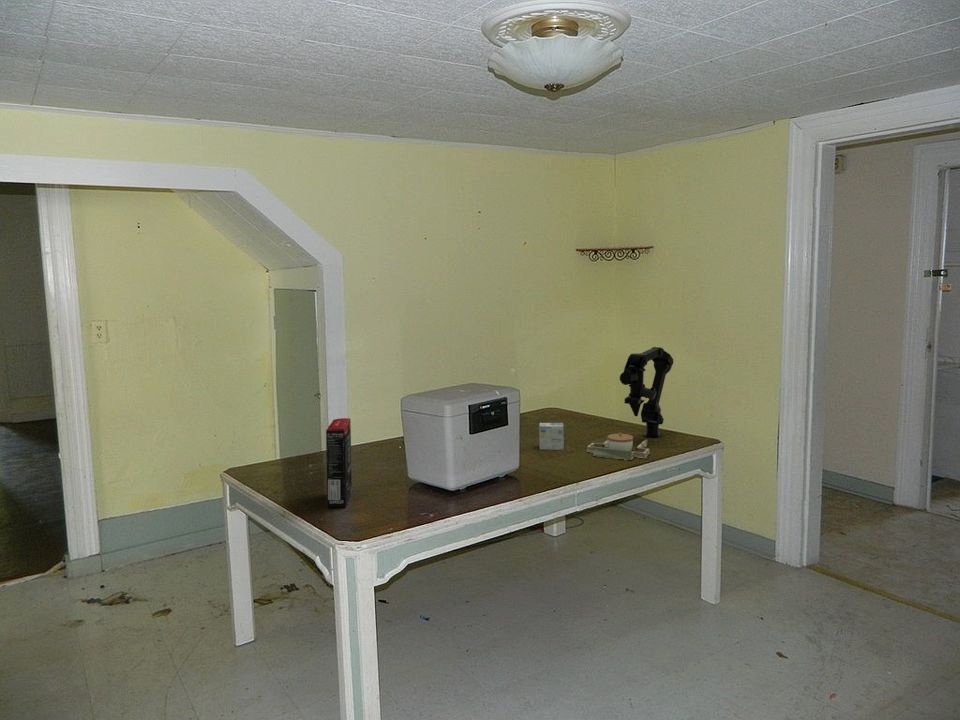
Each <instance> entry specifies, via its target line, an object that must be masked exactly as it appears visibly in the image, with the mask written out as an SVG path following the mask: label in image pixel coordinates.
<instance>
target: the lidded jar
mask: <svg viewBox="0 0 960 720" xmlns="http://www.w3.org/2000/svg"><path fill="white" fill-rule="evenodd" d="M606 439H607V440H608V447H607V448H610V449H619V450H628V451H632V448H633V443H634V436H633V435H631V434H627V433H622V432H618V433H612V434H607V438H606Z"/></svg>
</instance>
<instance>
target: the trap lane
mask: <svg viewBox="0 0 960 720" xmlns="http://www.w3.org/2000/svg"><path fill="white" fill-rule="evenodd" d="M647 446H648V439H644V440H643V441H642V442H641V443H640V444H639V445H637V447H635V451H632V450H631V451H628V450H619V449H610V448H608V439H607V440H605V441H604V442H603V443H600V442H592V443H590V444H588V445H587V446H586V453H587V452H590V453H589V454H592V455H593V456H596V457H595V458H601V457H605V458H604V459H610V458H615V459H614V460H618V459H624V460H623V461H627V460H632V459H633V458H634V457H638V458H637V459H639V458H646V457H647V456H648V455H649V454H650V448H646V447H647ZM606 447H607V448H606ZM650 455H651V454H650ZM650 455H649V456H650ZM593 456H592V457H593ZM649 456H648V457H649ZM648 457H647V458H648ZM647 458H646V459H647ZM634 459H635V458H634ZM632 461H633V460H632Z"/></svg>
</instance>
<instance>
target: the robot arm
mask: <svg viewBox="0 0 960 720" xmlns="http://www.w3.org/2000/svg"><path fill="white" fill-rule="evenodd" d="M649 361H652V362H653V367H654V371H655V372H654V378H653V380H652V384H651V387H650V388H647V387H646V384H645V383H644V374H645V373H644V372H646V368H645V367H646V366H647V365H648V362H649ZM673 365H674V358H673V357H672V355H671V354H670V353H669V352H667V351H666V350H665V349H664V348H663V347H661V346H653V347H651V348H649V349H647V350H645V351H643V352H641V353H639V352H638V353H631V354H630V355H629V356H627V360H626V364H625V365H624V370H623V372H622V373H621V374H620V375H619V381H620V383H621V384H622V385H624V386H628V387H629V393H628V396H626V397H625V398H624V404H628V405H629V406H630V408H631V411H632V412H633V415H634V417H638V416H639V412H640V418H641V419H640V420H641V423H644V424H645V434H643V437H647V438H659V437H660V436H661V433H659V430H660V427H659V425H663V423H664V419H665V418H664V417H663V415H662V414H661V411H662V409H661V406H660V400H661V396H662V391H663V388H664V384H665V380H666V375H667V374H668V373H669V372H670V371H671V370H672V367H673ZM642 398H645V399H648V400H647V402H645V401H646V400H645V399H642ZM641 405H642V408H641ZM640 409H641V411H640Z"/></svg>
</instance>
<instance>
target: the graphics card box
mask: <svg viewBox="0 0 960 720" xmlns="http://www.w3.org/2000/svg"><path fill="white" fill-rule="evenodd" d="M351 423H352V420H351V418H347V417H346V418H344V417H343V418H335V419H333V420H332V421H331V422H330V424H329V426H328V428H326V430H325V441H326V443H325V444H326V445H325V447H326V449H325V451H326V495H327V497H326V499H327V500H326V501H327V503H326V505H327V506H326V507H327V508H346V507H347V505H348V503H349V500H350V497H351V495H352V492H353V490H352V431H351V430H352V426H351Z"/></svg>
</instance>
